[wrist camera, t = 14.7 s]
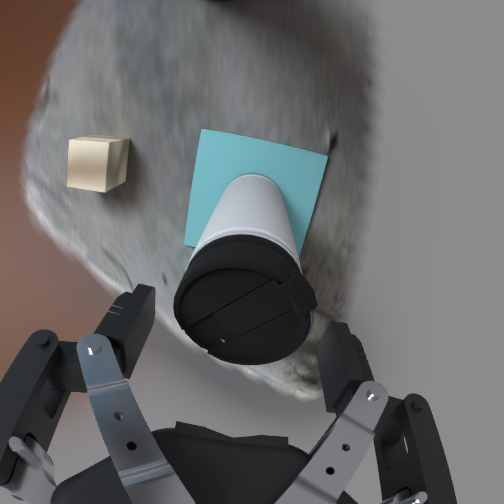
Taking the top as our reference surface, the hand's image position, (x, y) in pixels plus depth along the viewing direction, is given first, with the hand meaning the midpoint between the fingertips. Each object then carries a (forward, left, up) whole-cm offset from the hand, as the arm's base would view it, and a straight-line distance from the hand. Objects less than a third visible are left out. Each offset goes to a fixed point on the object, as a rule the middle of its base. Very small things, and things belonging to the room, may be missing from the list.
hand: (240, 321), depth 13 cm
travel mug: (0, 0, -19) cm, 19 cm away
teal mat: (0, 0, -20) cm, 20 cm away
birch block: (-2, -17, -20) cm, 26 cm away
